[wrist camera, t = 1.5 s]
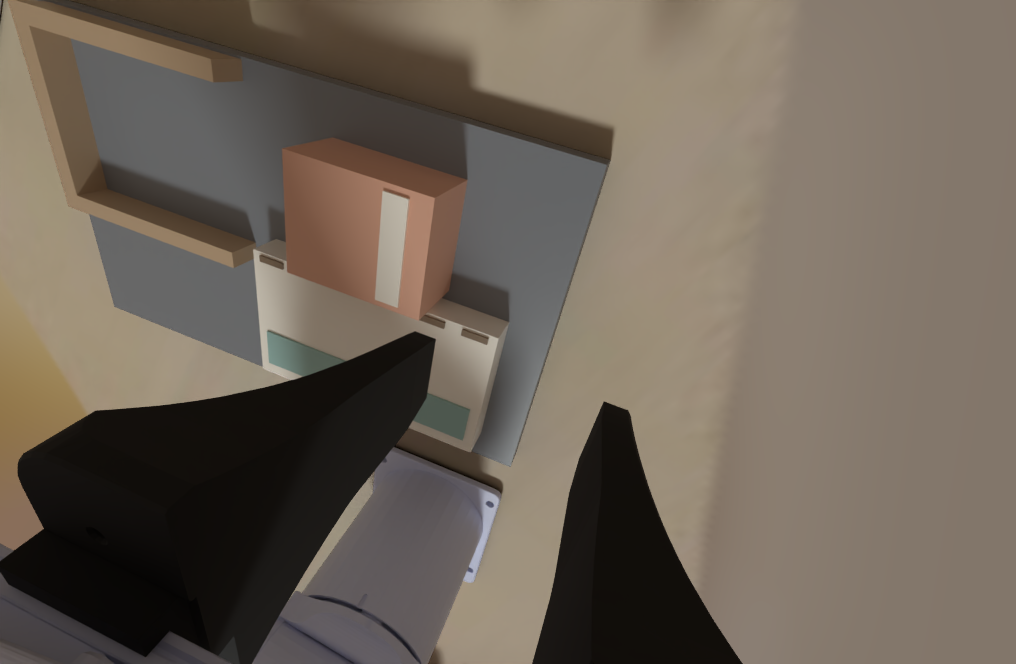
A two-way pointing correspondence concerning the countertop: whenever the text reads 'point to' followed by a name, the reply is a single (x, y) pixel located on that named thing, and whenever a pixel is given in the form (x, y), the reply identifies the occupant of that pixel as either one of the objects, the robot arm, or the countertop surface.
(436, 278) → the pink carton
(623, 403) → the countertop surface
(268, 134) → the board
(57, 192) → the countertop surface
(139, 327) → the countertop surface
